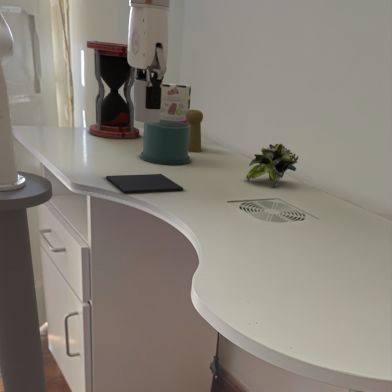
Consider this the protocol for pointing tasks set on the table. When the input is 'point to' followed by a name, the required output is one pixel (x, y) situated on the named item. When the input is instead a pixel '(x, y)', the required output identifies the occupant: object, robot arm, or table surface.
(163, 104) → the candy bar box
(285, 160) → the leafy green plant
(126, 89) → the hourglass
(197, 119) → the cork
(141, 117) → the steel cup
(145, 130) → the teal short wide cylinder
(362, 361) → the table surface
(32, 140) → the table surface
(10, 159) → the robot arm
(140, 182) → the mat
